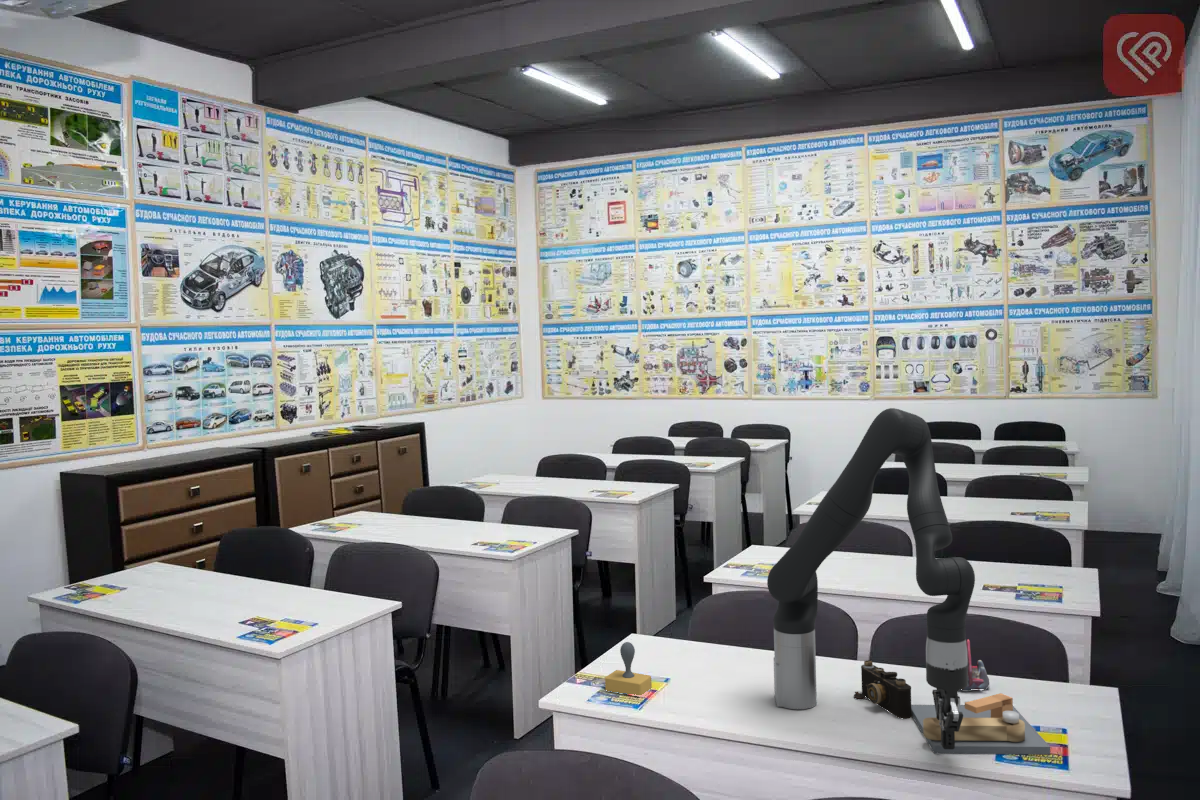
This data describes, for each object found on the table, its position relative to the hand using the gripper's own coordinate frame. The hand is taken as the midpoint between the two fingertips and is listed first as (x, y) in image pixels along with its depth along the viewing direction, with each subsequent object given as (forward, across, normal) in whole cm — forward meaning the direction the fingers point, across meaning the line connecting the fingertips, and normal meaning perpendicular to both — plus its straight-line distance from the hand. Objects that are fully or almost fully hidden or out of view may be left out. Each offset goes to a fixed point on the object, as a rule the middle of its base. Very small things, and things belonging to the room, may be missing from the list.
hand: (947, 747), depth 176 cm
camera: (+3, -27, -7) cm, 28 cm away
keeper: (+1, -13, +12) cm, 17 cm away
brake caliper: (+3, -40, +15) cm, 42 cm away
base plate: (+2, -13, +9) cm, 16 cm away
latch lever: (+1, -7, +7) cm, 10 cm away
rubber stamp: (+3, -36, -65) cm, 74 cm away
